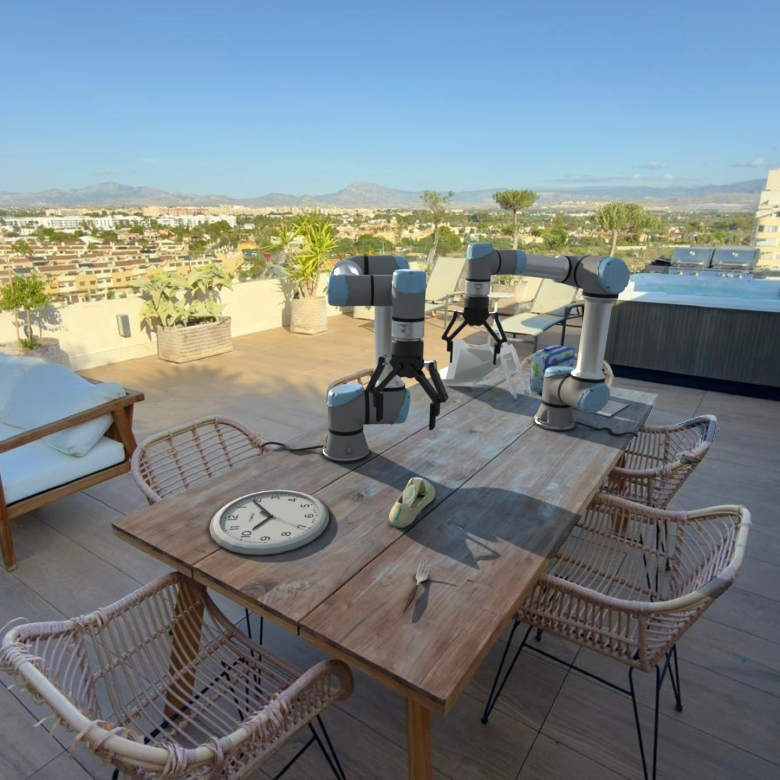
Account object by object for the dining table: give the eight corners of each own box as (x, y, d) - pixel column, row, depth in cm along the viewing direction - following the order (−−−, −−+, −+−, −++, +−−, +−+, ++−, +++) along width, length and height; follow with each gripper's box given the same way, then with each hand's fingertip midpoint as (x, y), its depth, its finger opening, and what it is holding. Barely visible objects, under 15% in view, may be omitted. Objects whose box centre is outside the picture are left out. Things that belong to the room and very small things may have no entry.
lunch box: (546, 398, 236) (551, 353, 229) (525, 393, 243) (529, 349, 237) (573, 387, 253) (579, 344, 247) (553, 382, 260) (558, 341, 254)
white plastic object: (461, 429, 252) (437, 405, 227) (444, 352, 274) (420, 323, 250) (535, 404, 240) (518, 377, 215) (510, 326, 262) (492, 293, 237)
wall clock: (327, 546, 121) (194, 551, 119) (327, 552, 122) (195, 557, 119) (330, 485, 150) (223, 488, 147) (330, 490, 150) (224, 493, 148)
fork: (396, 613, 103) (397, 605, 102) (420, 566, 117) (420, 559, 117) (409, 617, 102) (409, 608, 102) (431, 569, 116) (432, 561, 116)
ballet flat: (440, 490, 152) (442, 465, 150) (416, 534, 130) (417, 506, 128) (413, 485, 155) (414, 460, 152) (384, 527, 133) (385, 499, 130)
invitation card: (608, 416, 214) (573, 407, 224) (608, 416, 214) (573, 408, 224) (628, 404, 229) (594, 396, 238) (628, 405, 229) (594, 397, 238)
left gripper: (351, 336, 122) (352, 421, 128) (456, 346, 113) (450, 437, 119) (365, 330, 128) (365, 412, 135) (464, 340, 120) (459, 426, 126)
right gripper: (435, 295, 157) (432, 363, 163) (520, 298, 154) (513, 367, 161) (436, 292, 164) (433, 358, 171) (517, 295, 162) (511, 361, 168)
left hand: (405, 424), depth 127 cm, fingers open, 13 cm apart
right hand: (472, 362), depth 166 cm, fingers open, 13 cm apart
